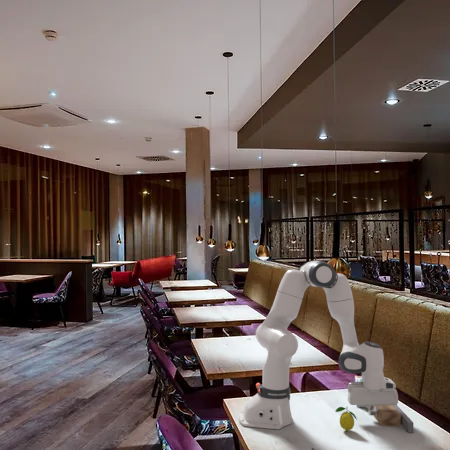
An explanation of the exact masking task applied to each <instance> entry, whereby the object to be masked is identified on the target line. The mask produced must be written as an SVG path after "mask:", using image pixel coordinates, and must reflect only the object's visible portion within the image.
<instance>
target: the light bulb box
mask: <svg viewBox="0 0 450 450" xmlns="http://www.w3.org/2000/svg"><path fill="white" fill-rule="evenodd" d="M354 382H362V375H359V376H358V375H354ZM356 407H357V408H366V409H368V408H367V407H366V405H356ZM369 408H370V409H372V408H373V405H371V407H369Z"/></svg>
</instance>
